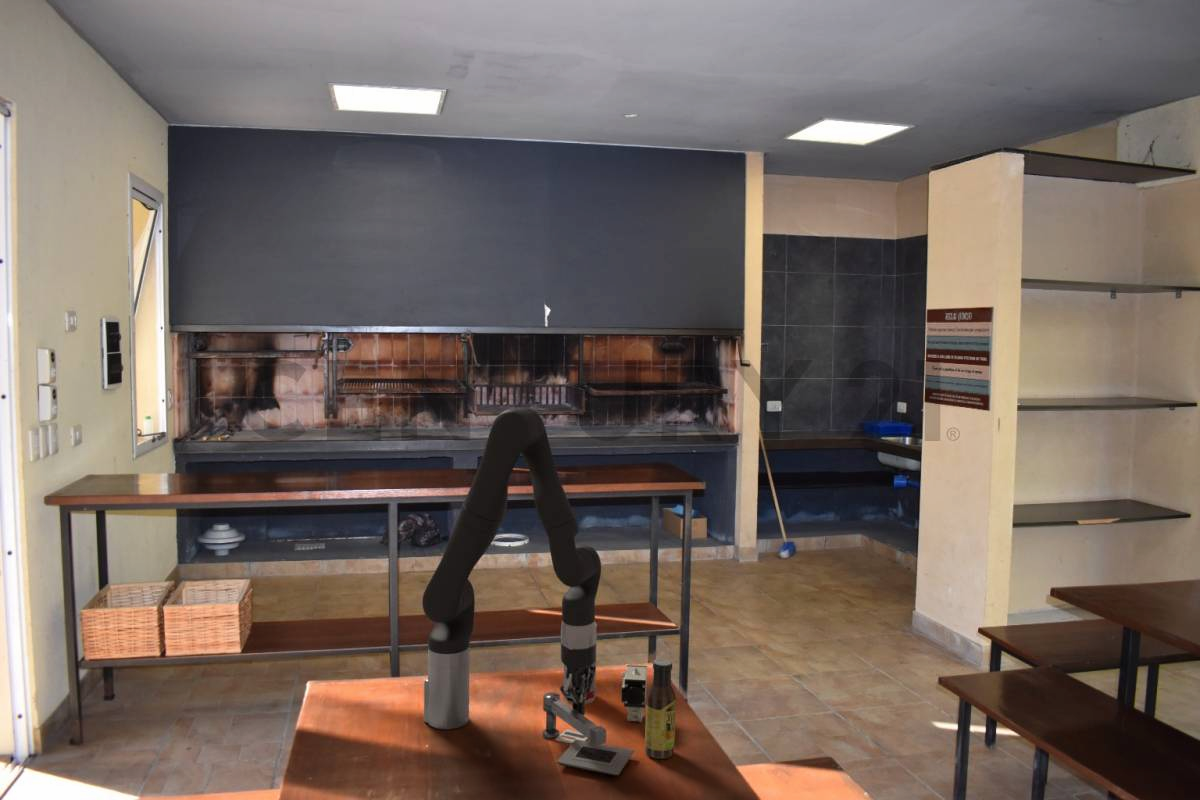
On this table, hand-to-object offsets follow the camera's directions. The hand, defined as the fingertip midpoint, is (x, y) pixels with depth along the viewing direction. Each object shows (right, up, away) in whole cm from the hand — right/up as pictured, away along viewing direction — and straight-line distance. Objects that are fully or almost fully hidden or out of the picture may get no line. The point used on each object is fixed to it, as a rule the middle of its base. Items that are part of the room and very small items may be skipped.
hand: (578, 716), depth 193 cm
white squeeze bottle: (0, -4, +24) cm, 24 cm away
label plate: (-1, -6, +2) cm, 6 cm away
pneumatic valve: (+12, -5, +13) cm, 18 cm away
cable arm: (-1, 0, -4) cm, 5 cm away
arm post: (-6, -5, +3) cm, 9 cm away
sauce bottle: (+17, -7, -4) cm, 19 cm away
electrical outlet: (+4, -7, -9) cm, 12 cm away
